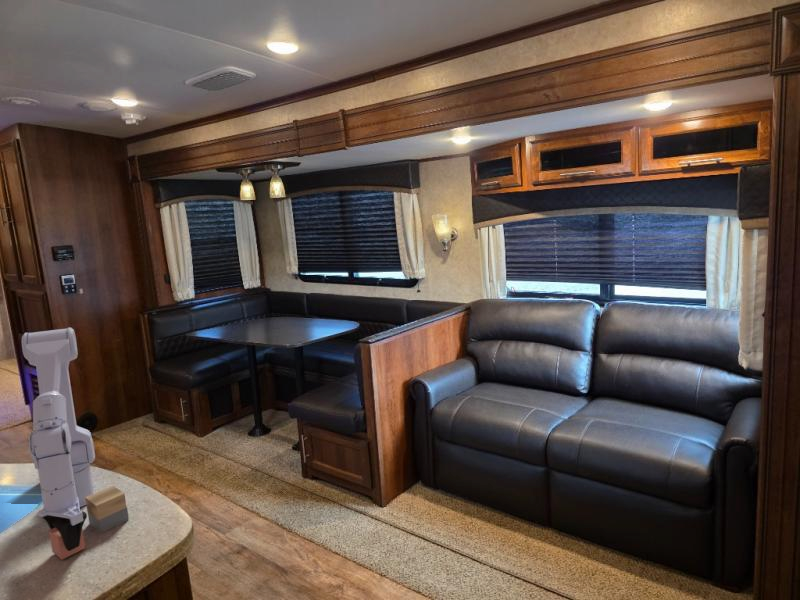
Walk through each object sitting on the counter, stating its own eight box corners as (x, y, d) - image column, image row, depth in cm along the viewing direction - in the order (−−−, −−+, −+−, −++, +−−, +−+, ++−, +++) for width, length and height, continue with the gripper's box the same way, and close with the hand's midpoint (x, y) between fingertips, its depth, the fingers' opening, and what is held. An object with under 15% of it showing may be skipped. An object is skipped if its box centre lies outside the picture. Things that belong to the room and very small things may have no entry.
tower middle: (87, 511, 118) (85, 497, 117) (114, 499, 122) (112, 485, 122) (98, 520, 114) (96, 505, 113) (126, 507, 118) (124, 493, 118)
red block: (52, 551, 108) (48, 530, 107) (75, 540, 111) (72, 519, 111) (61, 559, 105) (57, 537, 104) (85, 547, 109) (81, 526, 108)
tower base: (89, 525, 118) (87, 511, 118) (116, 512, 123) (114, 498, 122) (101, 534, 115) (99, 519, 114) (129, 520, 119) (127, 506, 119)
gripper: (21, 482, 107) (32, 541, 109) (50, 503, 98) (61, 567, 101) (59, 468, 112) (68, 524, 115) (90, 487, 104) (99, 547, 106)
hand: (67, 543), depth 108 cm, fingers closed on red block, 4 cm apart
